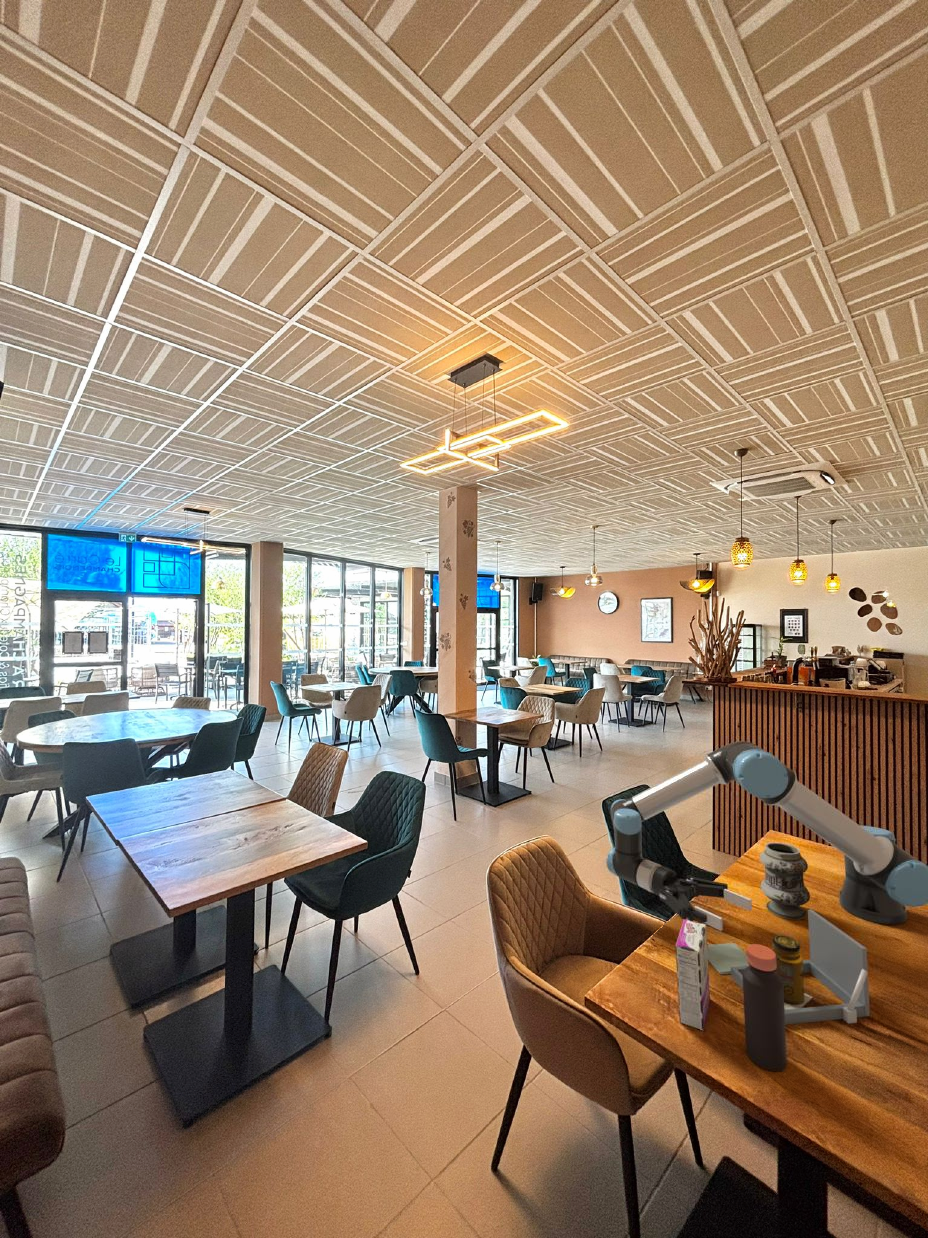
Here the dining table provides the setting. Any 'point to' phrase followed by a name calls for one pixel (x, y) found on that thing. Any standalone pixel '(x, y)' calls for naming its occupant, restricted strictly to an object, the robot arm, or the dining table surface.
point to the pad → (726, 957)
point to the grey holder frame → (831, 974)
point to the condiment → (790, 971)
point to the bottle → (764, 1009)
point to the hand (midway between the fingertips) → (736, 914)
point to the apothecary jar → (784, 880)
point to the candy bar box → (692, 974)
